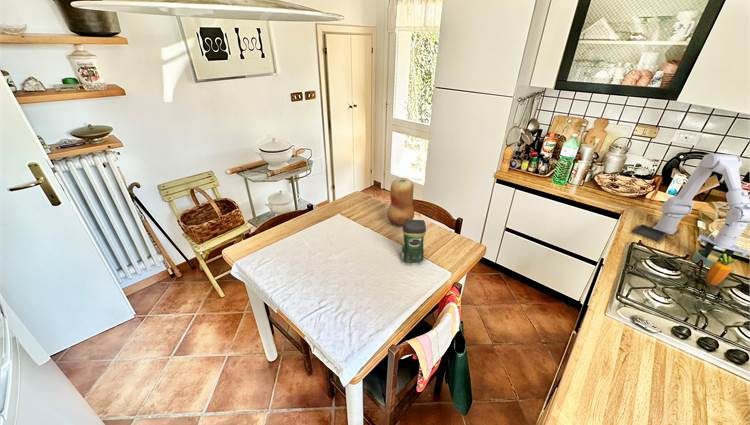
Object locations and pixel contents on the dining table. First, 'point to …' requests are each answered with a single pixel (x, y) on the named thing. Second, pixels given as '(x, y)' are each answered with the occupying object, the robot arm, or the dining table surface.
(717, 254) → the butter
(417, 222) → the coffee jar
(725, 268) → the carrot
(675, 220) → the robot arm
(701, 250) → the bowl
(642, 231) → the dark grey flat slab
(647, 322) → the blueberries
